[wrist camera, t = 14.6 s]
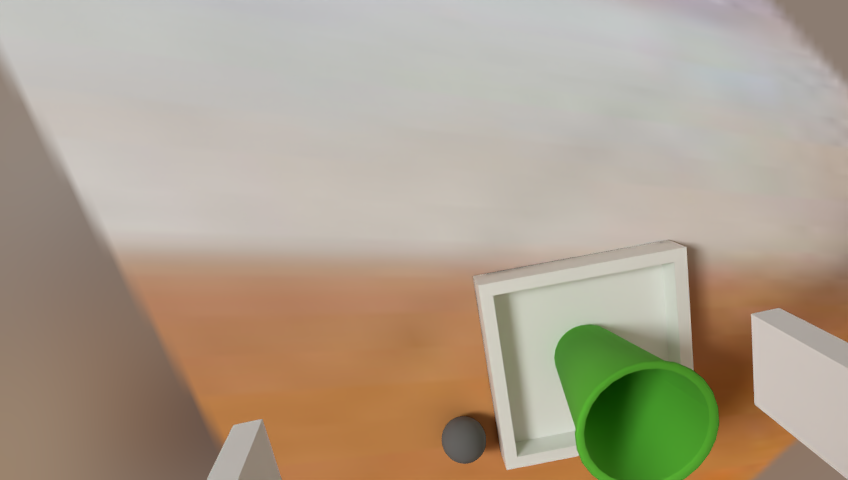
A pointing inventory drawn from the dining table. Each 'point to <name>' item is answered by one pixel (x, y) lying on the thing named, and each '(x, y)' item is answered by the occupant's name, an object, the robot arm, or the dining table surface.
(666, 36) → the dining table surface
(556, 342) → the tray
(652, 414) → the cup
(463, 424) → the ball
